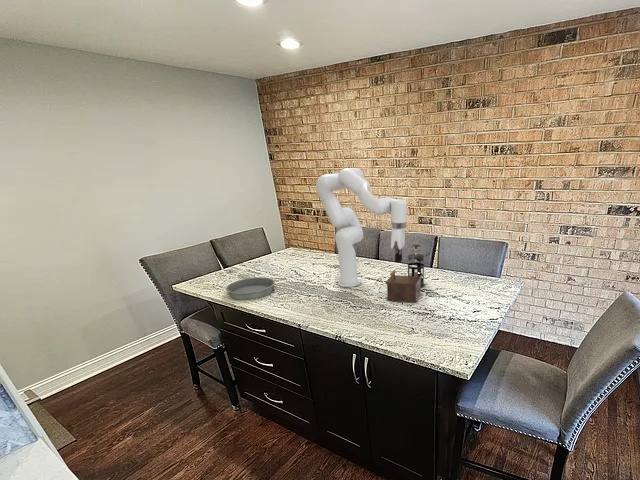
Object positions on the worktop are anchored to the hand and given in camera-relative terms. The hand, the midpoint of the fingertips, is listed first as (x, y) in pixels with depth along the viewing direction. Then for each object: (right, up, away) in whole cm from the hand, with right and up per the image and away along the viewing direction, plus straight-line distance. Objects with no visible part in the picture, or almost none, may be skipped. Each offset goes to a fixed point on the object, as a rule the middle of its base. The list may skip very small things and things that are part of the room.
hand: (398, 261), depth 171 cm
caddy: (+3, -18, +2) cm, 18 cm away
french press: (+10, -11, +19) cm, 24 cm away
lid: (+2, -10, -1) cm, 10 cm away
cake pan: (-80, -16, +12) cm, 82 cm away
